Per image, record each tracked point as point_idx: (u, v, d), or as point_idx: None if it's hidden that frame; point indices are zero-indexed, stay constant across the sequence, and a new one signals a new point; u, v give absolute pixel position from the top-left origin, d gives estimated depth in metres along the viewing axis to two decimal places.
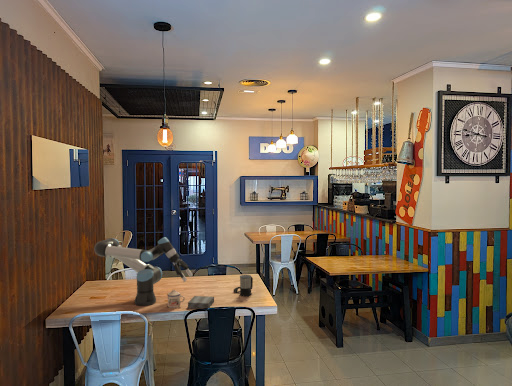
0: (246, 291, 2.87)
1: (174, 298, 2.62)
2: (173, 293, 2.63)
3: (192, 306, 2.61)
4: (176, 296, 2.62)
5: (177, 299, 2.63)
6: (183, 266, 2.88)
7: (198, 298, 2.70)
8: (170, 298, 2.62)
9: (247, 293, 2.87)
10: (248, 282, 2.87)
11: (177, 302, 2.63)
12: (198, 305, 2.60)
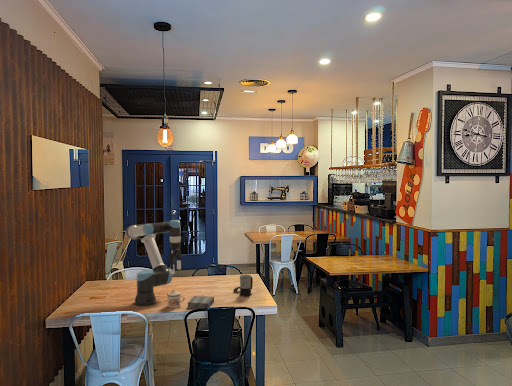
0: (246, 291, 2.87)
1: (174, 298, 2.62)
2: (173, 293, 2.63)
3: (192, 306, 2.61)
4: (176, 296, 2.62)
5: (177, 299, 2.63)
6: (177, 256, 2.70)
7: (198, 298, 2.70)
8: (170, 298, 2.62)
9: (247, 293, 2.87)
10: (248, 282, 2.87)
11: (177, 302, 2.63)
12: (198, 305, 2.60)
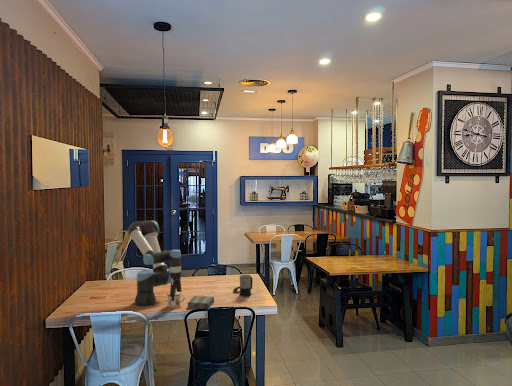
0: (246, 291, 2.87)
1: None
2: None
3: (192, 306, 2.61)
4: (176, 296, 2.63)
5: (177, 299, 2.63)
6: (177, 287, 2.69)
7: (198, 298, 2.70)
8: (170, 298, 2.62)
9: (246, 293, 2.87)
10: (248, 282, 2.87)
11: (177, 302, 2.63)
12: (198, 305, 2.60)
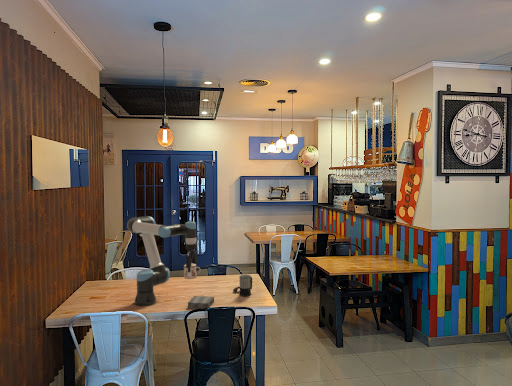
0: (246, 291, 2.87)
1: None
2: None
3: (192, 306, 2.61)
4: (192, 267, 2.63)
5: (193, 270, 2.63)
6: (193, 259, 2.69)
7: (198, 298, 2.70)
8: (186, 269, 2.62)
9: (246, 293, 2.87)
10: (247, 282, 2.87)
11: (193, 273, 2.63)
12: (198, 305, 2.60)
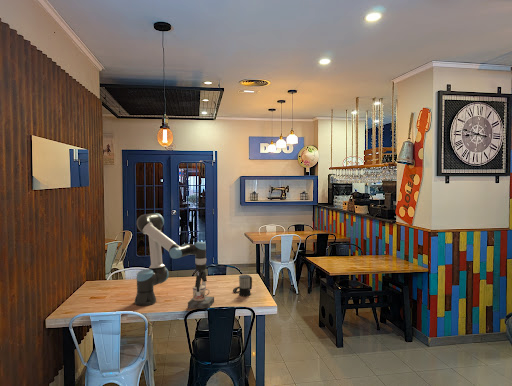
0: (245, 291, 2.87)
1: (200, 291, 2.63)
2: None
3: (192, 306, 2.61)
4: (202, 289, 2.64)
5: (203, 292, 2.65)
6: (202, 277, 2.72)
7: None
8: None
9: (246, 293, 2.87)
10: (247, 282, 2.87)
11: (203, 295, 2.65)
12: (198, 305, 2.60)
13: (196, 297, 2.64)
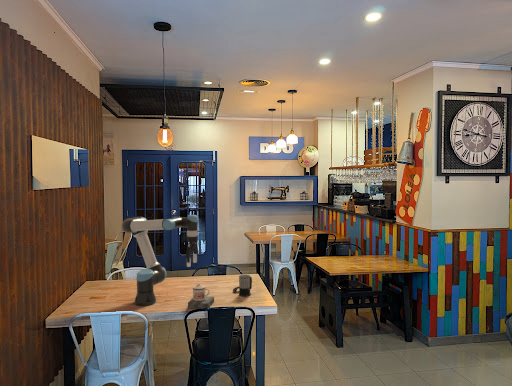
0: (245, 291, 2.87)
1: (200, 291, 2.63)
2: (199, 286, 2.65)
3: (192, 306, 2.61)
4: (202, 289, 2.64)
5: (203, 292, 2.65)
6: (194, 250, 2.79)
7: None
8: (196, 291, 2.63)
9: (246, 293, 2.87)
10: (247, 282, 2.87)
11: (203, 295, 2.65)
12: (198, 305, 2.60)
13: (196, 297, 2.64)
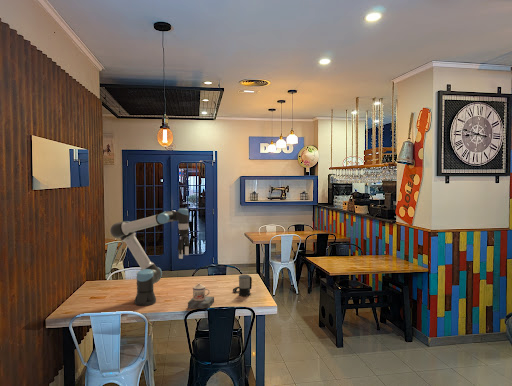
0: (245, 291, 2.87)
1: (200, 291, 2.63)
2: (199, 286, 2.65)
3: (192, 306, 2.61)
4: (202, 289, 2.64)
5: (203, 292, 2.65)
6: (185, 242, 2.87)
7: None
8: (196, 291, 2.63)
9: (245, 293, 2.87)
10: (247, 282, 2.87)
11: (203, 295, 2.65)
12: (198, 305, 2.60)
13: (196, 297, 2.64)
